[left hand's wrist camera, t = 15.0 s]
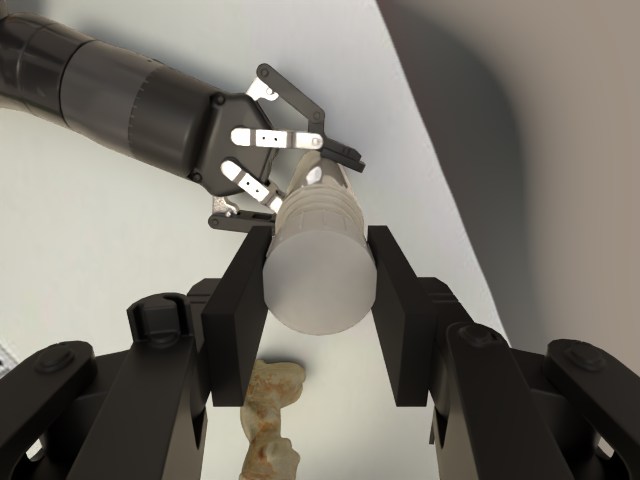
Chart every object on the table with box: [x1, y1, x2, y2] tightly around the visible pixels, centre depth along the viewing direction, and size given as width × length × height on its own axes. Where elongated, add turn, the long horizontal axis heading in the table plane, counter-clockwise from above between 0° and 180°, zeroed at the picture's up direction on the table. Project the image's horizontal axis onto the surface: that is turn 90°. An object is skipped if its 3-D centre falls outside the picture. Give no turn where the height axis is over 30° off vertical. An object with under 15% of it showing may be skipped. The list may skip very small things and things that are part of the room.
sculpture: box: [239, 360, 306, 480], centre depth 36 cm, size 6×7×15 cm
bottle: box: [275, 149, 364, 235], centre depth 24 cm, size 5×5×24 cm
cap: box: [263, 210, 377, 335], centre depth 13 cm, size 4×4×2 cm
